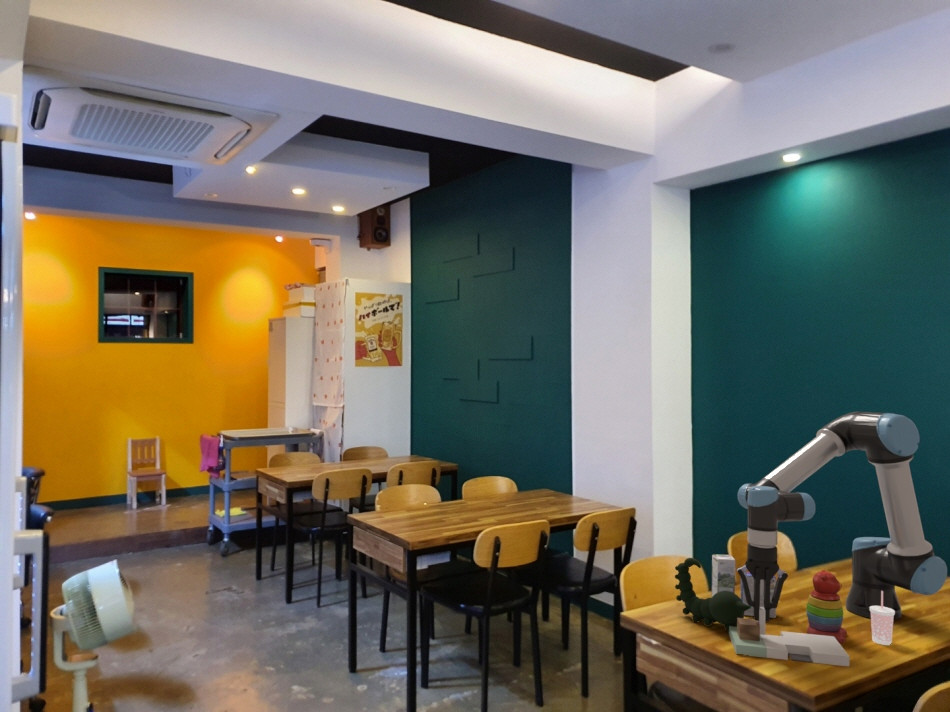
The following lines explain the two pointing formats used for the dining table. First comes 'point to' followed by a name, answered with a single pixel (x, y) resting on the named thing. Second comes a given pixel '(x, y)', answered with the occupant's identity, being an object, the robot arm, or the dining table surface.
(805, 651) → the trap deck
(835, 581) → the stacking bear
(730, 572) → the syrup box
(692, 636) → the dining table surface
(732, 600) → the toy figurine
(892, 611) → the beverage cup
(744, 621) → the walnut block
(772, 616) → the ink cartridge box
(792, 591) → the dining table surface
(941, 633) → the dining table surface
